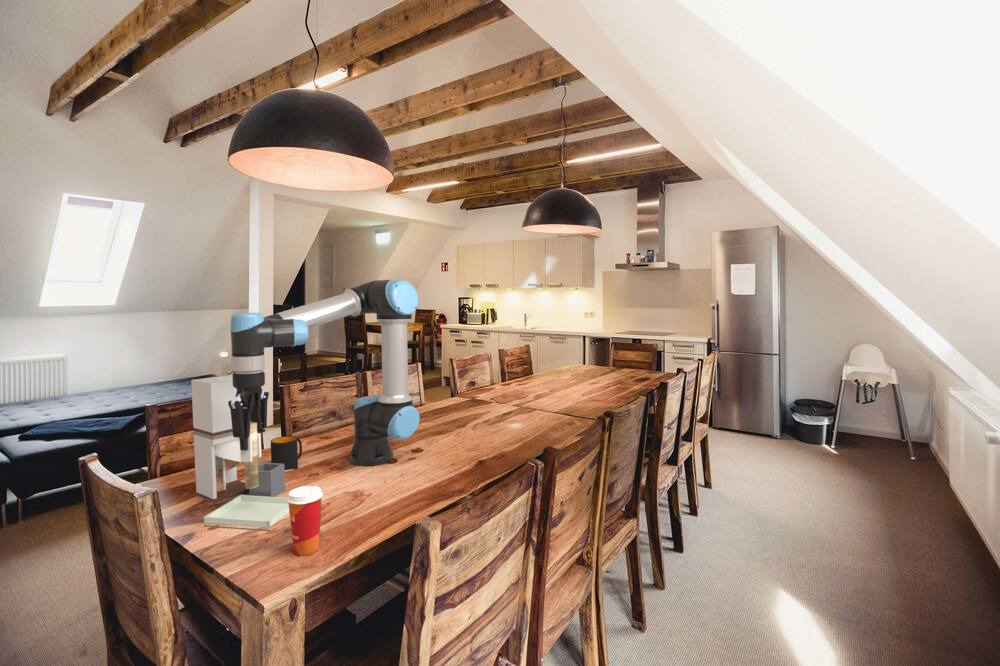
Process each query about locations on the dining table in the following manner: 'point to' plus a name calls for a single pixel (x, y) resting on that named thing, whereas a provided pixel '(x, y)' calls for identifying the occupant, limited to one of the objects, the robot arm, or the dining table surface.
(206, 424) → the white coffee maker
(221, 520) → the tray
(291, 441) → the mug
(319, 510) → the paper cup
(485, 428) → the dining table surface
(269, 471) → the pen cup
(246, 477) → the dowel
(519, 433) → the dining table surface
